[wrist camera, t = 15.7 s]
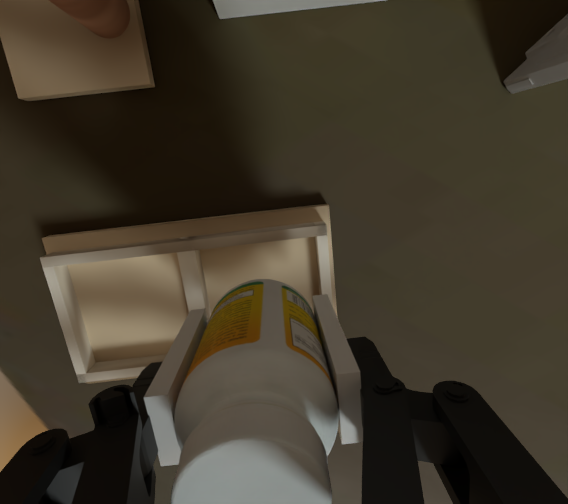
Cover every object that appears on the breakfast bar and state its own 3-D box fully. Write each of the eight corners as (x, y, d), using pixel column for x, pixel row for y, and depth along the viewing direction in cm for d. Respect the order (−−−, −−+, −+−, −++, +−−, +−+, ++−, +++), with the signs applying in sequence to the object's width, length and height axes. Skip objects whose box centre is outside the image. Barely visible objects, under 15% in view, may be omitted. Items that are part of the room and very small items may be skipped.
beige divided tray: (50, 235, 21) (27, 243, 19) (326, 203, 21) (332, 208, 19) (92, 376, 23) (76, 396, 21) (337, 347, 23) (343, 364, 22)
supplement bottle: (324, 286, 17) (390, 433, 8) (301, 377, 18) (333, 595, 9) (218, 266, 17) (155, 397, 7) (202, 361, 18) (130, 574, 9)
